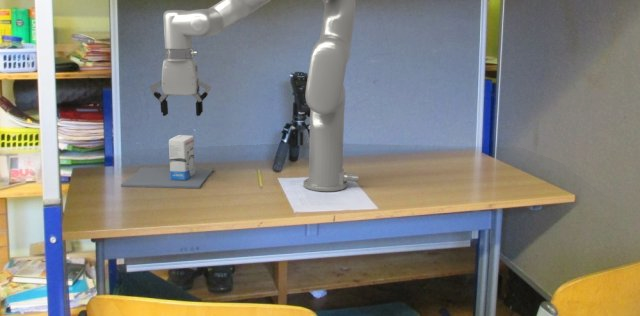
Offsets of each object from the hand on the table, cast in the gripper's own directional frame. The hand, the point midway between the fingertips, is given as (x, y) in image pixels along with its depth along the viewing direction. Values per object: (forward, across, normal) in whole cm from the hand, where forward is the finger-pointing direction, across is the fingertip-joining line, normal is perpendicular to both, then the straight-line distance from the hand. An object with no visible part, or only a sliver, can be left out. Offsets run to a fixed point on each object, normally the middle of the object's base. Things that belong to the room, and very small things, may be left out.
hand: (182, 115), depth 187 cm
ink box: (+18, +1, 0) cm, 19 cm away
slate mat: (+19, +5, 0) cm, 19 cm away
